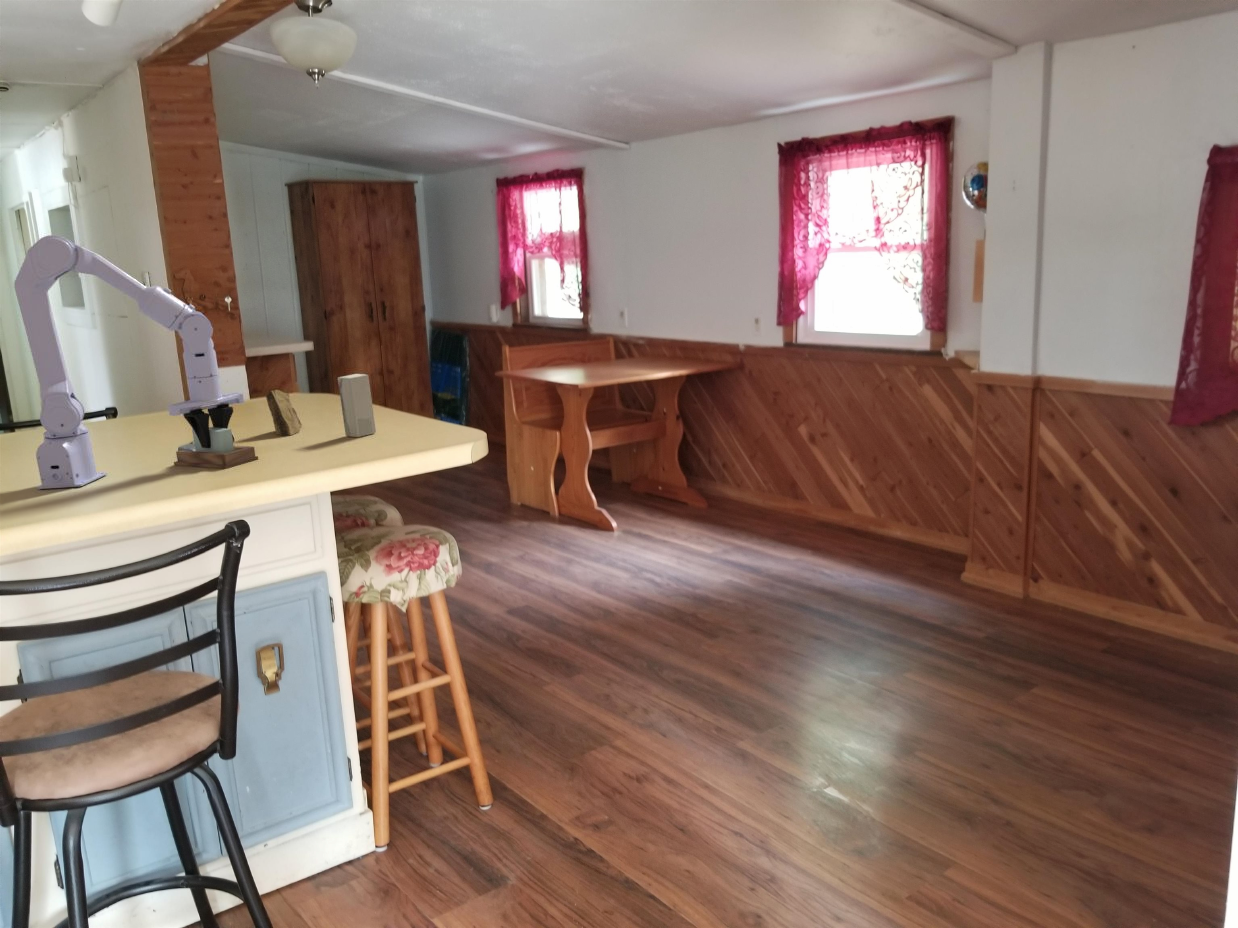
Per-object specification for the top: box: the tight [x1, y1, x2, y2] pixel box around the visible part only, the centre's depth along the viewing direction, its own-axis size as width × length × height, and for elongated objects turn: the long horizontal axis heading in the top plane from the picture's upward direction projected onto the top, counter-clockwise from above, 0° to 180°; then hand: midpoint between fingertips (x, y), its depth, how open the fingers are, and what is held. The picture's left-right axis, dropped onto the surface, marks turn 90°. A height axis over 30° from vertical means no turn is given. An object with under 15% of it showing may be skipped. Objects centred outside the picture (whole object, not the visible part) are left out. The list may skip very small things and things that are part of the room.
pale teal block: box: [191, 426, 235, 453], centre depth 185 cm, size 9×3×6 cm, turn 55°
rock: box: [265, 389, 303, 437], centre depth 215 cm, size 11×9×10 cm
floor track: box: [173, 445, 259, 470], centre depth 186 cm, size 14×8×3 cm, turn 63°
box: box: [337, 373, 377, 438], centre depth 204 cm, size 5×4×13 cm
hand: (213, 445), depth 185 cm, fingers closed on pale teal block, 3 cm apart
